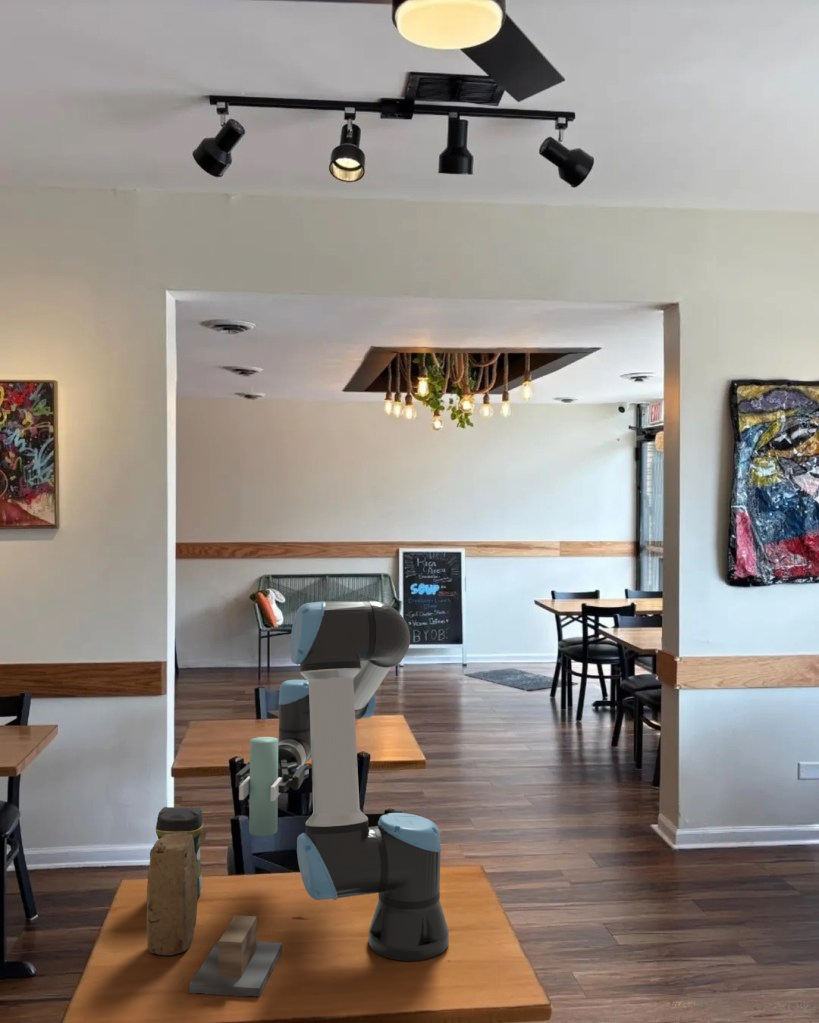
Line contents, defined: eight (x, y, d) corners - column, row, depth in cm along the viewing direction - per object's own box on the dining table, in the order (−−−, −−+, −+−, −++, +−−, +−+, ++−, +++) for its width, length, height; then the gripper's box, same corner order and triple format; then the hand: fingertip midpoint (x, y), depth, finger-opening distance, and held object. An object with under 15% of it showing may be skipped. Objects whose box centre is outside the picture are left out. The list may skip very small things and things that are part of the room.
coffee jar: (150, 904, 185) (151, 814, 185) (160, 888, 193) (161, 802, 193) (198, 904, 185) (199, 814, 186) (205, 888, 193) (206, 802, 194)
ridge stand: (218, 947, 167) (218, 907, 167) (281, 951, 166) (282, 910, 166) (189, 993, 151) (189, 948, 151) (259, 997, 150) (259, 952, 150)
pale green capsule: (281, 828, 180) (282, 737, 180) (270, 837, 174) (271, 744, 174) (256, 825, 181) (257, 735, 181) (244, 834, 176) (245, 742, 176)
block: (182, 959, 162) (183, 848, 162) (142, 957, 163) (143, 847, 163) (201, 932, 173) (202, 828, 173) (163, 930, 174) (164, 826, 174)
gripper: (326, 780, 195) (303, 815, 172) (243, 776, 197) (209, 811, 173) (326, 745, 195) (304, 775, 172) (243, 742, 197) (210, 772, 173)
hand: (256, 793), depth 173 cm, fingers closed on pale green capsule, 5 cm apart
